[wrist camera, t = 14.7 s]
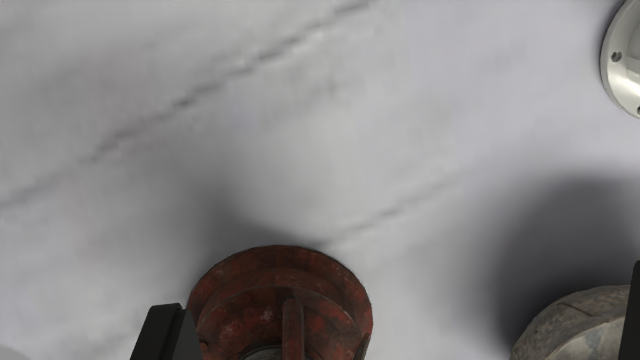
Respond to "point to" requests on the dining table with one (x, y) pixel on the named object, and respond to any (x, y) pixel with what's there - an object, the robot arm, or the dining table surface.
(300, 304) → the lantern
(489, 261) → the dining table surface
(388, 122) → the dining table surface
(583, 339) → the bowl
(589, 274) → the dining table surface
